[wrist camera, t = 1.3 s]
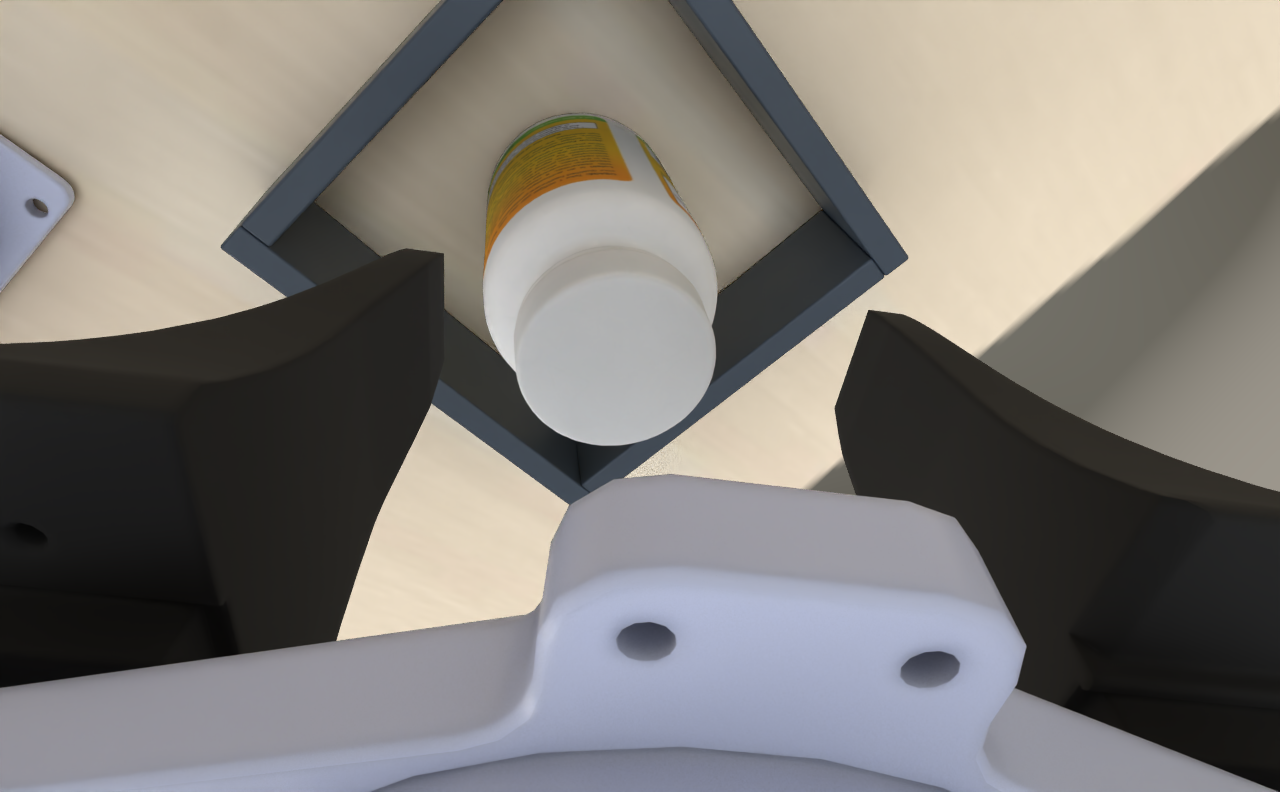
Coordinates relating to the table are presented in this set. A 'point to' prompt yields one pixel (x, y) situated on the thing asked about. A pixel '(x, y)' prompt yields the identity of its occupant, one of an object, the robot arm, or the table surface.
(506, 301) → the supplement bottle
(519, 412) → the tray
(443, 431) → the table surface
